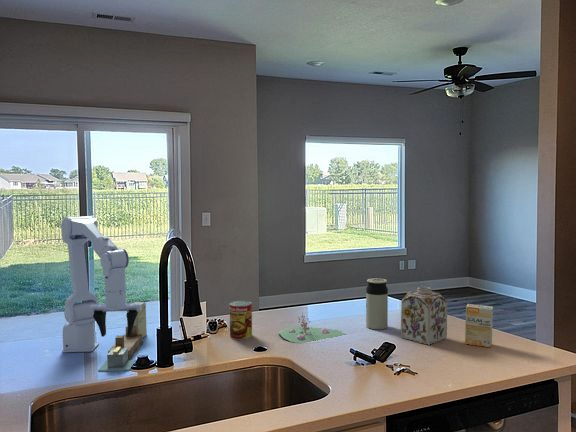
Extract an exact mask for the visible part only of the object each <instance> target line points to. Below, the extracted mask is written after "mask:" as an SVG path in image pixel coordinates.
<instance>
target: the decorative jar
mask: <svg viewBox="0 0 576 432" xmlns="http://www.w3.org/2000/svg"><path fill="white" fill-rule="evenodd" d="M447 335H448V301H447V299H445V297H444V296H443V295H441V293H440V292H437V291H432V288H431V287H428V286H418V287H417V288H416V290H412V291H408V292H407V293H406V294H405V295H404V297H403V298H402V299H401V310H400V337H401V339H404V338H405V339H404V340H407V339H409V340H408V341H411V340H413V341H412V342H415V341H417V342H416V343H418V342H421V343H420V344H422V343H424V344H423V345H425V344H428V345H427V346H431V345H433V344H432V343H434V344H436V343H439V342H441V341H444V340H447V337H448V336H447ZM443 339H444V340H443ZM438 341H439V342H438ZM435 342H436V343H435ZM430 344H431V345H430Z"/></svg>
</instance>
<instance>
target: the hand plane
mask: <svg viewBox="0 0 576 432" xmlns="http://www.w3.org/2000/svg"><path fill="white" fill-rule="evenodd" d="M114 339H115V340H114V342H115V343H114V344H113V345H112V346H111V348H110V349H108V351H107V354H108V353H109V352H110V351H111V350H112V349H113V348H117V347H121V348H128V360H133V357H134V356H135V355H136V353H137V352H138V350H140V347H142V345H143V343H144V341H143V338H142V334H137V326H133V329H132V334H131V336H128V326H125V334H122V335H117V336H116V337H115V338H114Z"/></svg>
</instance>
